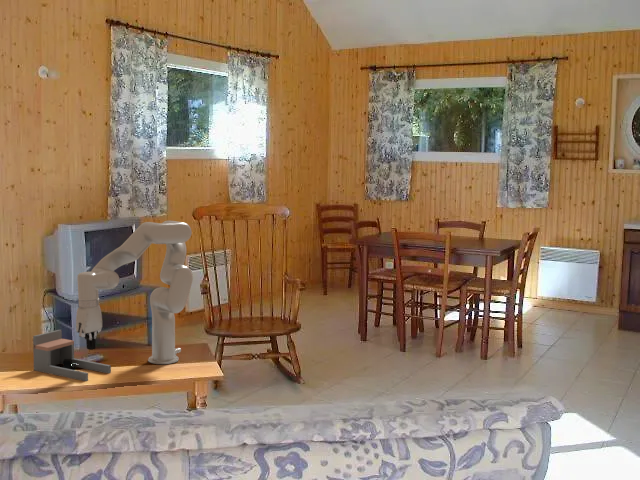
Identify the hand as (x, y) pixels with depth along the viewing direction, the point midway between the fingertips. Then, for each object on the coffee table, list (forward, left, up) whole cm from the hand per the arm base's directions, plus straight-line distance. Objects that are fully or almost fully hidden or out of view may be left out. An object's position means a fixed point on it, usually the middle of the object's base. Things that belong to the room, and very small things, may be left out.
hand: (91, 348), depth 294 cm
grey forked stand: (+1, -9, -10) cm, 14 cm away
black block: (0, -13, -11) cm, 17 cm away
